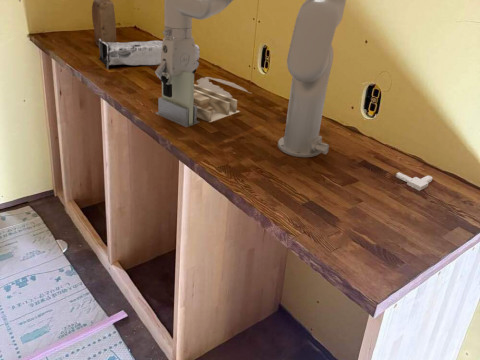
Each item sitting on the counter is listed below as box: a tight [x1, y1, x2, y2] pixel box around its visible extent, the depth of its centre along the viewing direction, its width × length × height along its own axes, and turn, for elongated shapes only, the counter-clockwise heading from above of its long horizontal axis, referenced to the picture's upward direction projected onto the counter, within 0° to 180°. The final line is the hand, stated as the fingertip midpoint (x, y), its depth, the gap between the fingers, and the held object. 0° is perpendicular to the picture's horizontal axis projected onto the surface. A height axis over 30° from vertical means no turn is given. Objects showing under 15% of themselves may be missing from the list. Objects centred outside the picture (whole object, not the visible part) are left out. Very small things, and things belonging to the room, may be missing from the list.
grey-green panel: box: [161, 71, 195, 124], centre depth 142 cm, size 12×2×15 cm, turn 49°
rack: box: [194, 83, 241, 123], centre depth 154 cm, size 20×14×6 cm
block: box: [91, 0, 117, 47], centre depth 210 cm, size 11×8×20 cm
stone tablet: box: [195, 76, 251, 98], centre depth 172 cm, size 16×30×2 cm, turn 31°
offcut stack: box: [193, 93, 213, 113], centre depth 152 cm, size 10×5×4 cm, turn 49°
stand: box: [154, 96, 200, 128], centre depth 145 cm, size 14×6×6 cm, turn 49°
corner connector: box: [395, 172, 433, 192], centre depth 125 cm, size 8×8×2 cm
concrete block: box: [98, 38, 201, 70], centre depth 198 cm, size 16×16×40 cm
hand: (177, 93), depth 142 cm, fingers open, 7 cm apart
